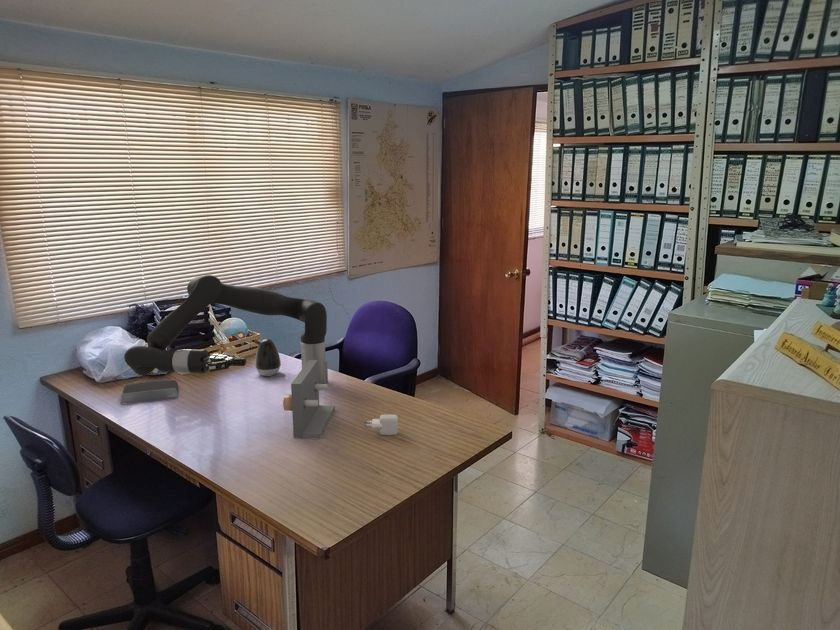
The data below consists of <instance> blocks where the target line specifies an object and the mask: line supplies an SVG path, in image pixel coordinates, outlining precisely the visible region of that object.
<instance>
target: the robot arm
mask: <svg viewBox="0 0 840 630" xmlns="http://www.w3.org/2000/svg"><path fill="white" fill-rule="evenodd" d="M186 291H187V294H188V297H186V299H184V301H183V302H182V303H181V304H180V305H179V306H177V308H175V309H174V310H173V311H171V312H170V313H168V315H166V316H165V317H164V318H163V319H161V321H160V322H159V323H158V324H157V325H156V326H155V327H154V328H153V329H152V330H151V332H149V333H148V335H147V337H146V341H147V345H148V346H147V345H135V346H132V347H130V348H128V349H127V350H126V352H125V353H124V356H123V358H124V361H125V363H126V365H127V366H128V367H129V368H130V369H131V370H132V371H133V372H134V373H135V374H136V375H138V376H146V375H150V374H149V373H151V372H152V371H153V370H154V369H155V368H156V369H158V370H159V371H162V372H169V373H179V374H206V373H208V371H209V372H210V373H211V372H216V371H217V372H218V371H222V370H227V369H230V368H233V367H245V366H246V364H247V358H246V357H235V355H234V354H232V353H229V352H227V351H223V352H222V353H221V354H219V353H213V354H210V352H209V351H208V350H207V349H201V348H200V349H197V348H196V349H195V348H194V349H193V348H192V349H191V348H190V349H189V348H187V349H185V348H184V349H169V350H166V349H167V347H168V346H169V347H170V345H171V344H172V343H173V342H174V341H175V340H176V338H177V337H179V335H180V334H181V333H182V332H183V331H184V329H186V327H188V325H189V324H191V323H192V321H193V320H194V319H195V318H196V317H197V316H199V314H200V313H201V312H203V311H204V310H205V309H206V308H207V307H208V306H210V305H211V304H215V305H216V304H217V305H221V306H228V307H232V308H235V309H238V310H242V311H245V312H249V313H252V314H254V313H255V314H258V315H264V316H285V317H289V318H293V319H294V320H298V321H300V322H302V323H304V332H303V333H301V335H300V353H301V354H300V355H301V356H300V358H301V370H302V369H303V367H304V366H305V365H306V363H307V362H308V361H309V360H318V384H328V383H329V373H328V371H329V369H328V359H326V342H325V341H326V340H325V338H326V334H327V330H328V328H327V326H328V316H327V315H328V314H327V309H326V307H325V305H324V304H323V303H321V302H319V301H316V300H313V299H307V298H297V297H291V296H287V295H284V294H281V293H280V292H276V291H273V290H269V289H265V288H261V287H256V286H249V285H248V286H246V285H231V284H226V283H222V282H221V280H220V279H219V278H218V277H217V276H215V275H212V274H203V275H198V276H196V277H194V278H192V279H191V280H190V281H189V282H188V284H187V287H186Z"/></svg>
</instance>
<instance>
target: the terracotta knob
mask: <svg viewBox="0 0 840 630" xmlns="http://www.w3.org/2000/svg"><path fill="white" fill-rule="evenodd" d="M318 403H319V404H320V401H319V402H318V400H304V406H316V407H318ZM282 406H283V407H282V408H283V410H284V411H285V412H287V411H288V412H289V411H292V394H285V395H284V396H283V401H282Z"/></svg>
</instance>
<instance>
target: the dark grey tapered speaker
mask: <svg viewBox="0 0 840 630" xmlns="http://www.w3.org/2000/svg"><path fill="white" fill-rule="evenodd" d="M253 342H254V343H255V344H256V345H258V347H257V349H256V350H257V351H256V354H255V364H254V365H255V366H254V367H255V368H256V371H257V373H258V374H259V375H260V376H263V377H271V376H274V375H275V376H276V374H277V373H278V372H279V371H280V367H281V365H282V361H281V356H280V353H279V349H278V348H277V346H276V343H275V342H274V341H273V339H271V338H264V339H262V340H261V341H259V340H256V339H255V340H254V341H253Z"/></svg>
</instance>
